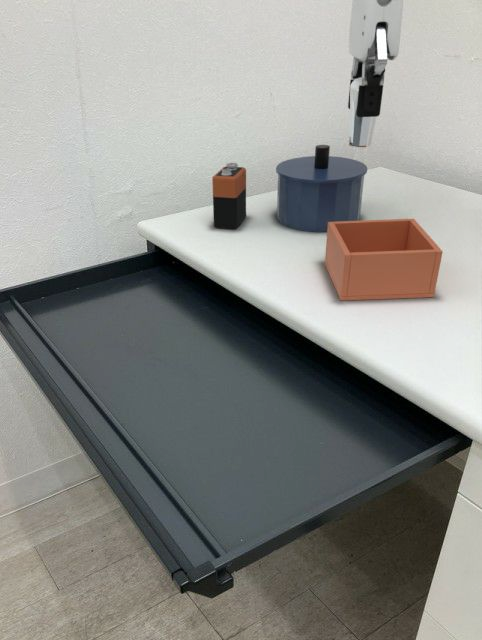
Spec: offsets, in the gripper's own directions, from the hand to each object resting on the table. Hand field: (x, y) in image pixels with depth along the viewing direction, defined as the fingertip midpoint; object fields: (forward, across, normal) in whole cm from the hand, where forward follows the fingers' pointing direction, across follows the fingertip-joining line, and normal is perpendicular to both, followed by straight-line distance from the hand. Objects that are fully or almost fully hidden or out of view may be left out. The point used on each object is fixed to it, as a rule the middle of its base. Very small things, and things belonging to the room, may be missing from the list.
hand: (363, 111), depth 86 cm
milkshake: (+5, 0, 0) cm, 5 cm away
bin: (+20, -14, -1) cm, 24 cm away
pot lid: (+12, +13, +3) cm, 18 cm away
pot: (+20, +13, +3) cm, 24 cm away
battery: (+21, +12, +19) cm, 30 cm away
